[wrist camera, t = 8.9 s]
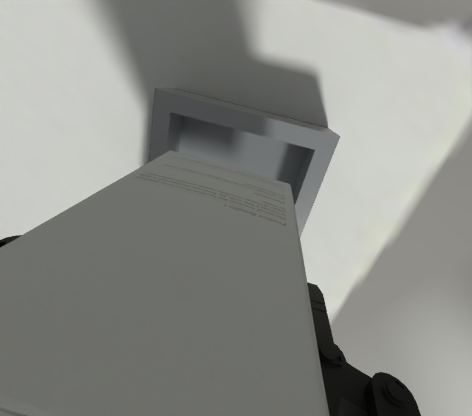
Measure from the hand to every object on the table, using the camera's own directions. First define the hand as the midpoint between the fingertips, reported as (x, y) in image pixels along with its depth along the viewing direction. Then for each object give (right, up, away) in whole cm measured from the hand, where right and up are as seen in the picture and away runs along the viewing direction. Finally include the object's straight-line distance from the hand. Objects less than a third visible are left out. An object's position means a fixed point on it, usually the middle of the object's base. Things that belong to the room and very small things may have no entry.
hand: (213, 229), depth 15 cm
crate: (+1, +4, +8) cm, 9 cm away
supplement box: (0, +1, +1) cm, 1 cm away
